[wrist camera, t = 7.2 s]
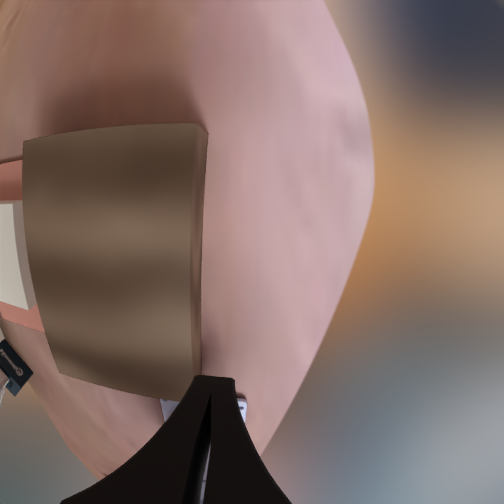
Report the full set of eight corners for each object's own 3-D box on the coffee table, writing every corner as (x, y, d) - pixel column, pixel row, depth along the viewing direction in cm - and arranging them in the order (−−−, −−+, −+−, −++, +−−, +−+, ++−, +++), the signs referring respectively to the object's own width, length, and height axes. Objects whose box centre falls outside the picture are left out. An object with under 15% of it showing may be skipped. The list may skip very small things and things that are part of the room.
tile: (-8, 298, 17) (4, 290, 19) (28, 310, 17) (41, 300, 19) (-23, 204, 14) (-9, 201, 16) (12, 203, 14) (28, 199, 16)
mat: (74, 338, 21) (72, 340, 20) (4, 316, 20) (2, 318, 20) (53, 155, 16) (50, 155, 15) (-16, 168, 15) (-19, 168, 15)
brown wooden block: (201, 369, 21) (194, 403, 17) (78, 347, 21) (59, 372, 17) (208, 133, 16) (197, 123, 12) (57, 142, 16) (23, 141, 12)
